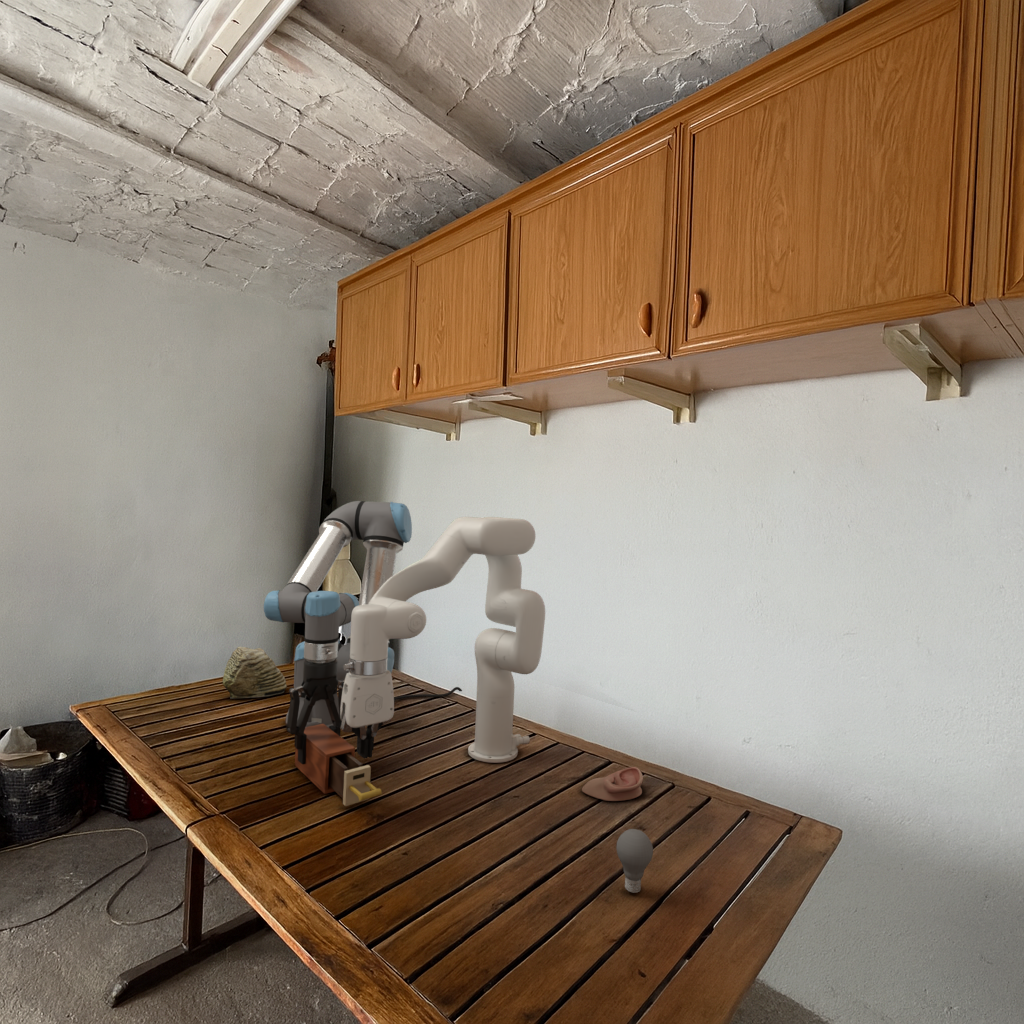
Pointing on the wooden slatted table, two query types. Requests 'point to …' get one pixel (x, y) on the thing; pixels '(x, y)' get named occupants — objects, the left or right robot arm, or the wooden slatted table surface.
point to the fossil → (252, 674)
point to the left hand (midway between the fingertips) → (317, 758)
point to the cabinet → (321, 754)
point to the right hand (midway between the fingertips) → (364, 755)
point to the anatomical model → (616, 785)
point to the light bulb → (634, 857)
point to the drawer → (350, 779)
